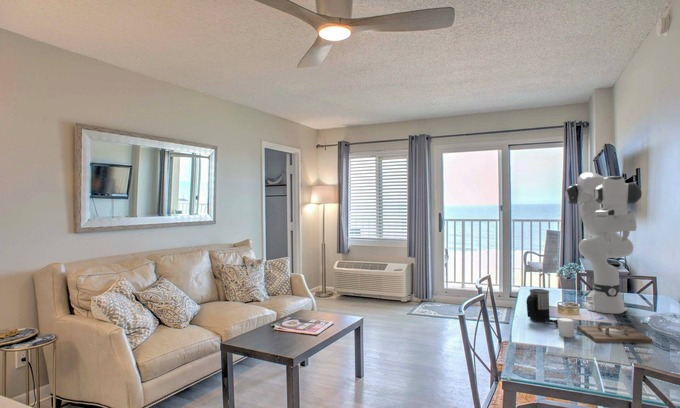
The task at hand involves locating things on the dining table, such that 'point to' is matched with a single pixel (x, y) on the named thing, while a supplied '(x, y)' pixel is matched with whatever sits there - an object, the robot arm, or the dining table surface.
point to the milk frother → (539, 306)
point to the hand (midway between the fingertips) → (616, 241)
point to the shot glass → (566, 327)
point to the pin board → (614, 334)
